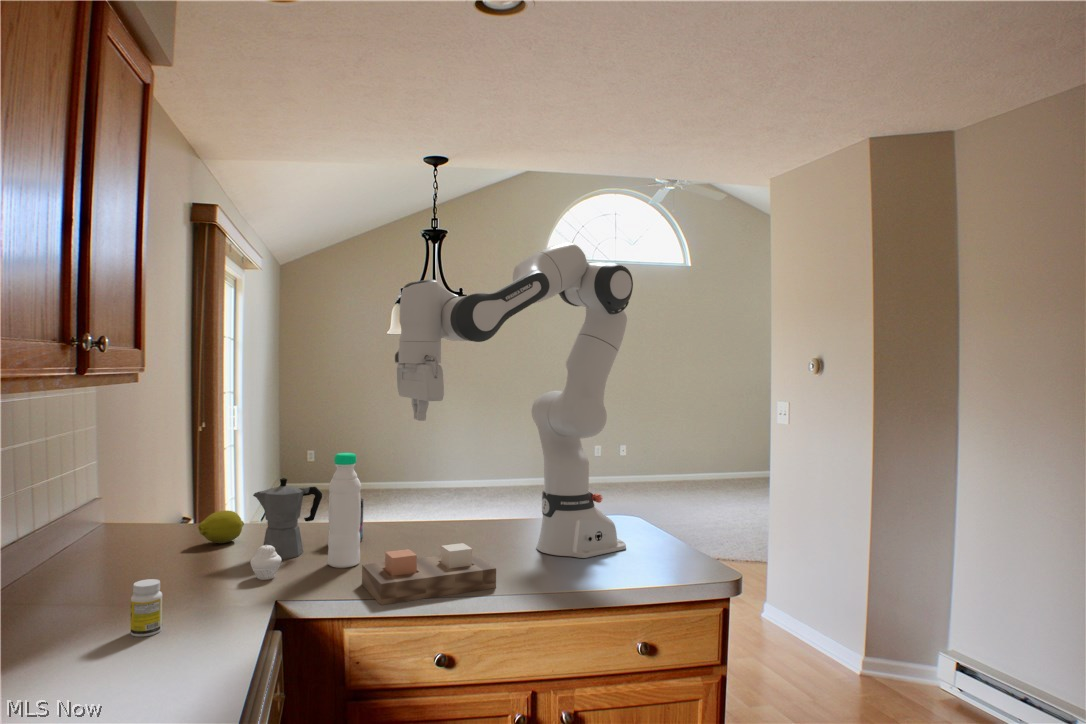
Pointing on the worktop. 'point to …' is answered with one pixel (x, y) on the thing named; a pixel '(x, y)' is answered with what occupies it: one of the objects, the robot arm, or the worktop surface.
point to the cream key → (456, 555)
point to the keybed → (427, 580)
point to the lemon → (221, 526)
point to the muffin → (266, 562)
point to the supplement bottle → (146, 608)
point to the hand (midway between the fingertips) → (419, 420)
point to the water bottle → (344, 513)
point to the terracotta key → (400, 562)
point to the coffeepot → (286, 516)
